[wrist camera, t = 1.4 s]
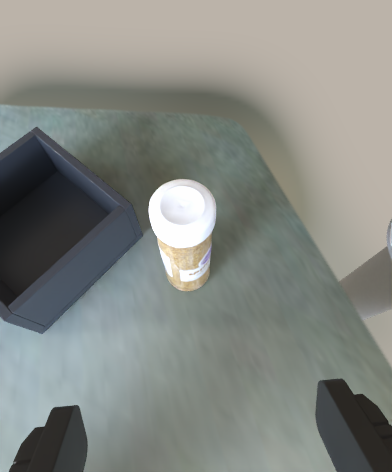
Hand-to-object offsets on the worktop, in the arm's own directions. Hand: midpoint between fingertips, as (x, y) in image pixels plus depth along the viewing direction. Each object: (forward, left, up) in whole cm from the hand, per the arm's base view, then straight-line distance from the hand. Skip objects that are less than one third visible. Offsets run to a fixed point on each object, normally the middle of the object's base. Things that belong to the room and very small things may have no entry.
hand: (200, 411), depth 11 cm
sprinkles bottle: (-8, -8, -20) cm, 23 cm away
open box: (-1, -21, -20) cm, 29 cm away
